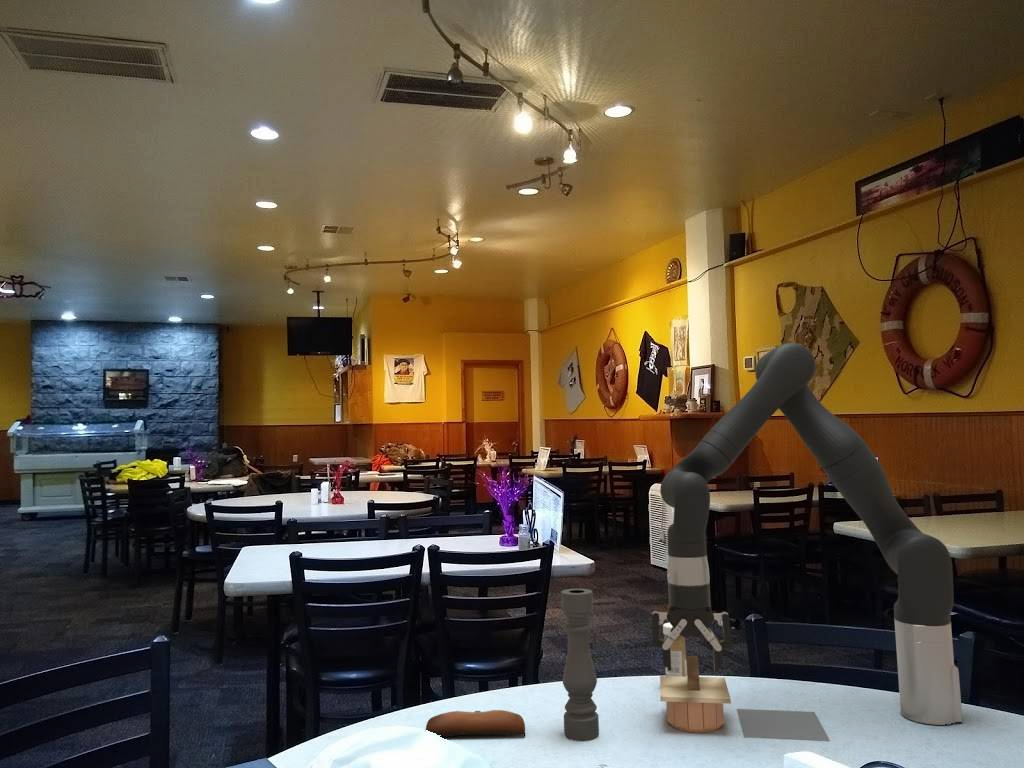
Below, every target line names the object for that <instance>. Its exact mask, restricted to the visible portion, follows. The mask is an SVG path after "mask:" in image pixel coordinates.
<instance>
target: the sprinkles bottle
mask: <svg viewBox="0 0 1024 768" xmlns="http://www.w3.org/2000/svg"><path fill="white" fill-rule="evenodd" d="M672 627H673V626H672V625H671V624H670V622H666V623H663V624H662V633H663V640H664V639H665V638H666V636H667V635H668V633H669V631H670V630H671V628H672ZM670 651H671V671H668V670H667V667H664V668H665V669H664V670H665V676H682V677H687V661H686V656H687V654H686V653H687V652H686V637H683V636H680V635H678V637H677V638H676V639H675V641H674V642H673V643H672V644H671V646H670Z"/></svg>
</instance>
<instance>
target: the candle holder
mask: <svg viewBox="0 0 1024 768" xmlns="http://www.w3.org/2000/svg"><path fill="white" fill-rule="evenodd" d="M593 596H594V595H593V590H591V589H588V588H569V589H568V588H567V589H563V590H561V591H560V598H561V601H560V603H561V611H563V613H562V614H563V616H564V618H565V620H566V622H565V624H563V630H564V631H565V633H566V634H567V655H566V659H565V664H564V669H563V670H564V671H563V676H562V685H563V687H564V690H565V691H566V693H567V696H568V700H567V702H566V704H565V705H564V710H565V713H564V714H563V734H565V735H564V737H565V736H566V737H565V738H567V739H568V738H569V739H568V740H571V739H572V741H575V740H576V741H575V742H586V741H587V742H588V741H593V740H595V739H597V738H599V735H600V724H599V713H597V708H598V707H597V704H596V703H595V701H594V700H593V699H592V698H593V696H594V691H595V688H596V687H597V684H598V677H597V674H596V670H595V666H594V662H593V659H592V658H593V657H592V654H591V651H590V633H591V631H592V630H593V625H592V624H591V623H590V622H589V620H590V617H591V615H592V611H593V609H594V598H593Z"/></svg>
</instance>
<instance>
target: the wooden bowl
mask: <svg viewBox="0 0 1024 768" xmlns="http://www.w3.org/2000/svg"><path fill="white" fill-rule="evenodd" d="M665 702H666V701H665ZM665 705H666V708H665V709H666V721H667V722H668V723H669V725H670V726H672V727H673V728H675V729H678V730H681V731H683V732H688V733H689V732H690V733H710V732H713V731H716V730H718V729H720V728H721V726H722V725H723V724H724V725H725V722H724V721H725V719H724V716H725V715H724V703H696V702H666V704H665Z"/></svg>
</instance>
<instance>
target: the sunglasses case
mask: <svg viewBox="0 0 1024 768" xmlns="http://www.w3.org/2000/svg"><path fill="white" fill-rule="evenodd" d="M426 730H428V731H430V732H433V733H436V734H437V735H441V736H443V737H444V738H445V737H450V736H461V735H466V736H467V735H469V736H471V735H472V736H474V735H475V736H479V735H492V736H493V735H496V736H497V735H519V736H521V735H523V736H524V737H525V736H526V726H525V721H524V717H522V716H521V715H520V714H519V713H516V712H513V711H508V710H503V709H502V710H501V709H492V710H487V711H481V710H475V711H462V710H454V711H447V712H444V713H443V712H442V713H440V714H437V715H433V716H432V717H431V718H429V719H428V720H427V722H426V726H425V731H426Z"/></svg>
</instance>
